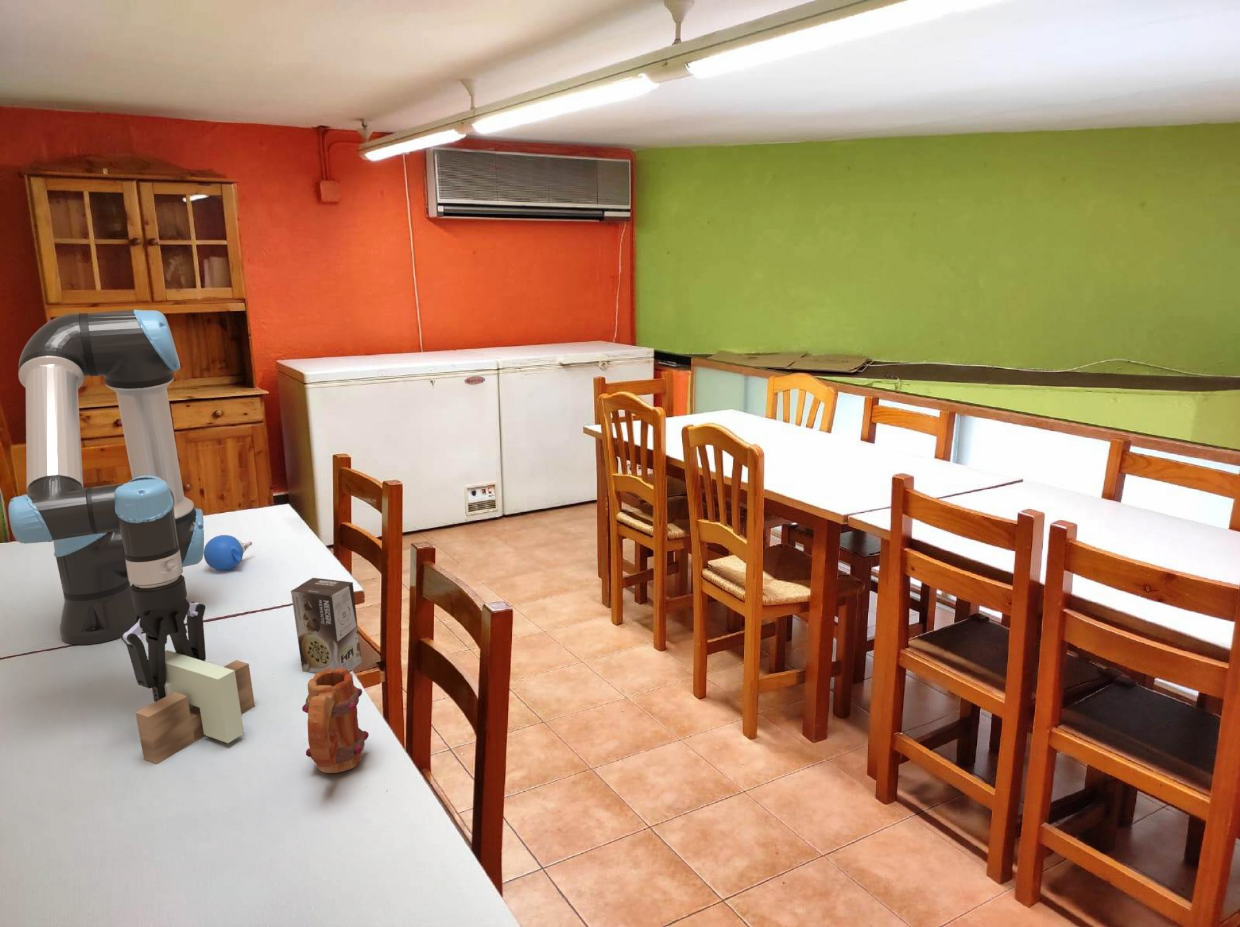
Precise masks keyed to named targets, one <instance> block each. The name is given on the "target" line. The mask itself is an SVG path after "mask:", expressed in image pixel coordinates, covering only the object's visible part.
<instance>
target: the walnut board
mask: <svg viewBox="0 0 1240 927" xmlns="http://www.w3.org/2000/svg"><path fill="white" fill-rule="evenodd" d="M223 667H225V668H228V669H231V670H234V671H235V676H236V683H237V689H238V696H239V703H240V709H241V715H243V714H244V713H246V712H249V711H250V710H251V709H253V708H255V707H256V705H255V699H254V698H255V697H254V691H253V685H252V677H251V671H250V670H251V668H250V664H249V663H248V662H244V661H241V660H237V659H236V660H234V661H232V662H230V663H228V664H226V665H224V666H223ZM135 717H136V724H137V728H138V734H139V740H140V744H141V752H142V755H143V759H144V760H146V761H148V762H151V763H153V764H155V765H158V764H159V763H161V762H162V761H163V762H164V761H165V760H166V759H167V758H169V757H171V756H173V755H175V754H176V753H178V752H180V751H181V750H183V749H185V748H186V747H188V746H190V745H192V744H193V743H195V742H197V741H198V740H200V739H202V738H203V737H205V736H206V735H204V731H203V725H202V719H201V713H200V708H199V707H197V706H194V707H192V708H190V709H189V704H188V698H187V696H185V695H182V694H179V693H176V692H174V693H172V694H170V695H168V696H166V697H164V698H162V699H160V700H158V701H156V702H155V701H154V702H152V703H151V704H149V705H147V706H145V707H143V708H141V709H139V710H137V711H135Z"/></svg>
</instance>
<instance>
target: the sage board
mask: <svg viewBox="0 0 1240 927" xmlns="http://www.w3.org/2000/svg"><path fill="white" fill-rule="evenodd" d="M165 672H166V682H168V683H171V687H172V693H174V692H176V693H179V694H182V695H185V696H187V698H188V704H189V709H190V708H192V707H194V706H197V707H199V708H200V713H201V719H202V725H203V731H204V735H205V736H207V737H209V738H212V739H216V740H217V741H221V742H224V743H226V744H229V743H231V742H233V741H234V740H236V739H238V738H240V737H241V736H242V735H244V734H245V732H244V731H245V730H244V724H243V717H242V714H241V709H240V703H239V696H238V689H237V683H236V676H235V671H234V670H231V669H228V668H225V667H224V666H221V665H217V664H215V663H211V662H209V661H208V662H207V661H206V660H205V661H202V660H198V659H195V658H192V657H189V656H185V655H182V654H179V653H176V652H175V651H172V650H169V649H165Z"/></svg>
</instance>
